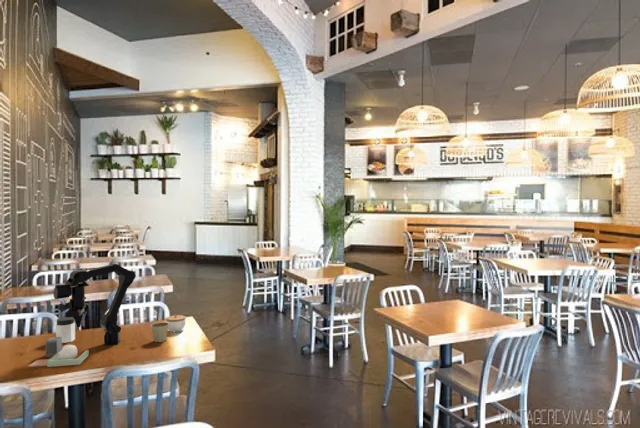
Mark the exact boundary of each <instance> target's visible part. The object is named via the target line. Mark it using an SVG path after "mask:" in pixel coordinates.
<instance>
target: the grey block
mask: <svg viewBox="0 0 640 428" xmlns="http://www.w3.org/2000/svg"><path fill="white" fill-rule="evenodd" d="M44 342H45V343H44V344H45V359H47V358H48V359H49V358H52V357H53V356H54V355H55V354H57V353H58V352H60V351H61V350H62V348H63V343H62V337H56V336H52V337H49V338H47V339H46V340H45V341H44Z"/></svg>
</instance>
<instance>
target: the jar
mask: <svg viewBox="0 0 640 428" xmlns="http://www.w3.org/2000/svg"><path fill="white" fill-rule="evenodd" d="M55 337H62V344H66V343H71V342H74V341H75V340H76V322H75V320H74V318H73V317H65V316H64V317H60V318H57V319H56V325H55Z"/></svg>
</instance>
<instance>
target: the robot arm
mask: <svg viewBox="0 0 640 428" xmlns="http://www.w3.org/2000/svg"><path fill="white" fill-rule="evenodd" d="M111 273H114V274H116V275H117V276H119V277H118V286H117V289H116V290H115V294H114V297H113V299H112V301H111V304H110V306H109V308H108V311H107V312H106V313H102V316H101V318H100V320H99V326H100V327H101V329H103V330H104V335H103V338H104V339H103V342H104V346H110V345H111V346H112V345H113V346H116V345H118V344H119V343H120V342H121V339H120V332H121V331H122V327H121V326H119V325H118V324H117V323H118V318H119V317H118V313H119V310H120V308H121V306H122V304H123V301H124V299H125V295H126V293H127V290H128V288H129V287H130V286H131V285H132V284H133V282H134V281H135V279H136V277H137V276H136V272H134V271H133V270H130V269H129V270H128V269H127V268H125V267H123V266H121V265H120V264H118V263H111V264H107V265H103V266H98V267H96V268H90V269H79V270H77V269H76V270H73V271H71V272H70V273H69V277H68V278H67V280H66V281H65V283H63V284H55V285H54V289H53V292H52V293H53V294H52V295H53V298H54V300H59V299H60V300H61V299H67V298H70V296H71V298H70V299H69V301H68V302H62V303H58V304H59V305H58V307H57V310H58V311H60V313H62V312H65V311H66V310H67V311H66V312H65V313H64V317H73V318H74V322H75V326H76V327H77V328H80V327H81V326H82V323H83V321H84V319H85V317H86V315H87V313H88V311H86V310H85V309H87V310H90V309H92V306H91V305H92V304H90V303H89V302H86V301H85V300H86V299H87V296H86V295H85V294H86V293H85V287H89V286H90V284H88V283H87V282H86V281H88V280H90V279H92V278H95V277H98V276H99V277H100V276H102V275H107V274H111Z"/></svg>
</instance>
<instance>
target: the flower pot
mask: <svg viewBox="0 0 640 428" xmlns="http://www.w3.org/2000/svg"><path fill="white" fill-rule="evenodd" d="M168 325H169V323H166V322H156V323H152V324H150V328H151V331H152V332H151V333H152V338H153V342H154V343H158V342H159V343H163V342H166V340H167V339H168V338H167V337H168V330H169V329H168Z"/></svg>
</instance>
